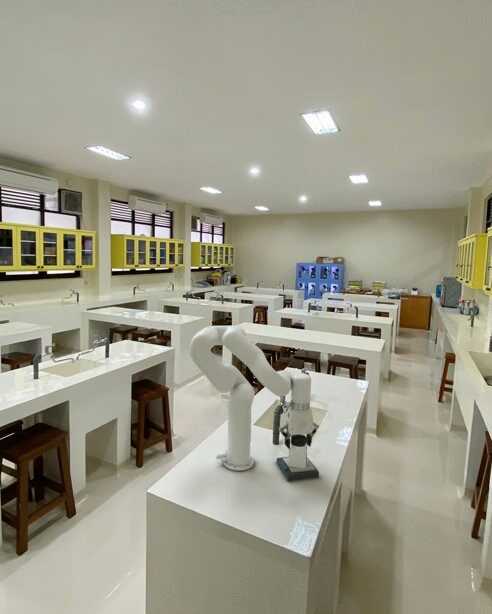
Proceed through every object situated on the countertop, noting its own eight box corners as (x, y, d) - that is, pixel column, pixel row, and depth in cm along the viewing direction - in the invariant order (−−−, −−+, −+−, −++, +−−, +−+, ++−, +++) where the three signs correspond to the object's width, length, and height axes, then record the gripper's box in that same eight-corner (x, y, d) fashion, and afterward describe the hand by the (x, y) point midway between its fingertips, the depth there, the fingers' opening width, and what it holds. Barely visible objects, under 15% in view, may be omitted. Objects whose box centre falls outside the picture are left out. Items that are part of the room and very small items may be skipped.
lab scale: (287, 481, 145) (288, 474, 145) (276, 463, 158) (276, 456, 157) (318, 477, 148) (319, 470, 148) (305, 460, 161) (305, 453, 160)
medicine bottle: (306, 469, 149) (307, 440, 147) (287, 466, 150) (289, 438, 148) (306, 459, 155) (307, 432, 154) (288, 457, 157) (290, 430, 155)
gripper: (283, 410, 144) (281, 452, 146) (324, 407, 148) (322, 448, 150) (276, 402, 151) (274, 443, 153) (316, 399, 155) (313, 439, 157)
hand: (298, 445), depth 152 cm, fingers open, 8 cm apart
